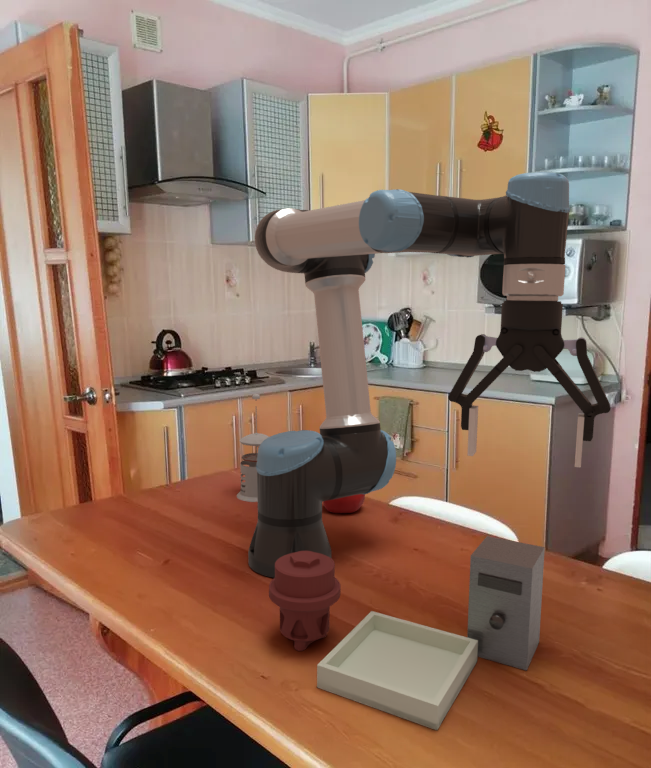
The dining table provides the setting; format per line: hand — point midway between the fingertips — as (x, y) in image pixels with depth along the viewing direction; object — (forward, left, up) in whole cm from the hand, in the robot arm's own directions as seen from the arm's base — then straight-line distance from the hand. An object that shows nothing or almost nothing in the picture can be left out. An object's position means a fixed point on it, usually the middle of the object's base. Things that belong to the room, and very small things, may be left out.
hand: (523, 459), depth 85 cm
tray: (-11, -14, -27) cm, 32 cm away
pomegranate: (-47, +38, -27) cm, 66 cm away
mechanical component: (-26, -13, -27) cm, 40 cm away
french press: (-70, +37, -27) cm, 83 cm away
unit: (-1, -1, -27) cm, 27 cm away
